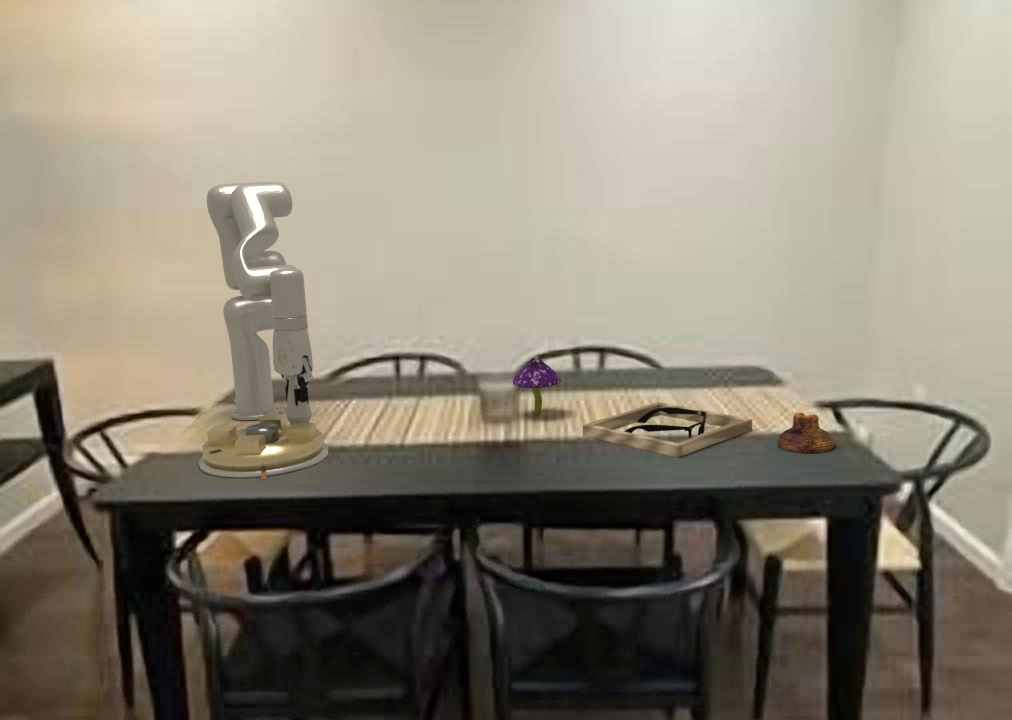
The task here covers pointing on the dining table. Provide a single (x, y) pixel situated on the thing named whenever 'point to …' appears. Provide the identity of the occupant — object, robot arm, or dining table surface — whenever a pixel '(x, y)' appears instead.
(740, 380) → the dining table surface
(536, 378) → the decorative mushroom
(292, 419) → the salt shaker
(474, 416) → the dining table surface
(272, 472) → the round white base
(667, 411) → the glasses
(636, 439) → the shallow square wooden tray
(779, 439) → the bell
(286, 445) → the round wooden platform
